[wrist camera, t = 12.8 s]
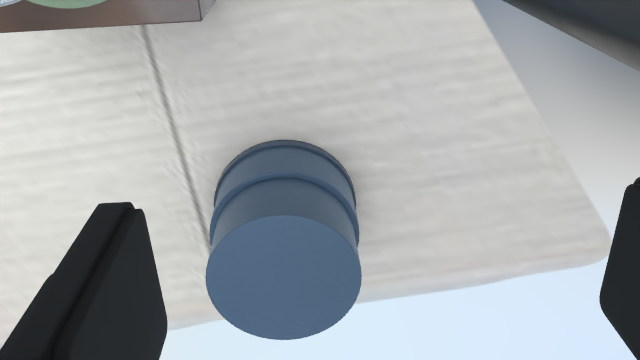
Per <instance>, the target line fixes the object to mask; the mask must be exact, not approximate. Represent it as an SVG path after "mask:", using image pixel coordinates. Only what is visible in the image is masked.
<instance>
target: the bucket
mask: <svg viewBox="0 0 640 360" xmlns="http://www.w3.org/2000/svg"><path fill="white" fill-rule="evenodd" d="M209 235H210V244H211V251H210V255H209V259H208V264H207V268H206V286H207V290H208V294H209V296H210V299H211V301H212V303H213V304H214V306H215V308H216V309H217V310H218V312H219V313H220V314H221V315H222V316H223V317H224V318H225V319H226V320H227V321H228V322H230V323H231V324H232V325H234V326H235V327H237V328H239V329H241V330H243V331H244V332H247V333H249V334H252V335H255V336H258V337H262V338H268V339H276V340H290V339H299V338H304V337H308V336H311V335H314V334H317V333H320V332H322V331H324V330H326V329H328V328H329V327H331V326H333V325H334V324H336V323H337V322H338V321H339V320H341V319H342V318H343V317H344V316H345V315H346V313H348V311H349V310H350V309H351V307H352V306H353V304H354V302H355V301H356V299H357V296H358V294H359V291H360V286H361V277H362V275H361V266H360V261H359V255H358V250H357V247H358V242H359V225H358V220H357V215H356V199H355V193H354V189H353V185H352V182H351V180H350V177H349V175H348V174H347V172H346V170H345V169H344V168H343V166H342V165H341V164H340V163H339V162H338V161H337V160H336V159H335V158H334V157H333V156H331V155H330V154H329V153H327V152H326V151H324V150H322V149H320V148H318V147H316V146H313V145H311V144H308V143H304V142H300V141H292V140H278V141H270V142H266V143H262V144H259V145H256V146H254V147H251V148H250V149H248V150H246V151H244V152H243V153H241V154H240V155H238V156H237V157H236V158H235V159H234V160H233V161H232V162H231V163H230V164H229V165H228V166H227V167H226V169H225V170H224V172H223V173H222V175H221V177H220V179H219V182H218V184H217V188H216V192H215V197H214V212H213V216H212V220H211V224H210V234H209Z"/></svg>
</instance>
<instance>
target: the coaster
mask: <svg viewBox="0 0 640 360" xmlns="http://www.w3.org/2000/svg"><path fill="white" fill-rule="evenodd" d="M27 1H30V2H32V3H36V4H40V5H43V6H47V7H54V8H82V7H89V6H92V5H96V4H99V3H102V2H104V1H106V0H27Z"/></svg>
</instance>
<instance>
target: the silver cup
mask: <svg viewBox="0 0 640 360" xmlns="http://www.w3.org/2000/svg"><path fill="white" fill-rule="evenodd" d="M18 1H21V0H0V7H2V6H6V5H9V4H13V3H16V2H18Z"/></svg>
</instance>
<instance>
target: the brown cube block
mask: <svg viewBox="0 0 640 360" xmlns="http://www.w3.org/2000/svg"><path fill="white" fill-rule="evenodd" d="M215 1H216V0H106V1H104V2H102V3H99V4H96V5H92V6H89V7H82V8H54V7H47V6H43V5H40V4H36V3H32V2H30V1H27V0H21V1H18V2H16V3H13V4H9V5H6V6H2V7H0V33H8V32H26V31H43V30H60V29H77V28H94V27H111V26H129V25H146V24H163V23H180V22H197V21H202V20H203V18H204V17H205V15H206V14H207V12H208V11H209V10H210V8H211V7H212V5H213V4H214V2H215Z"/></svg>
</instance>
